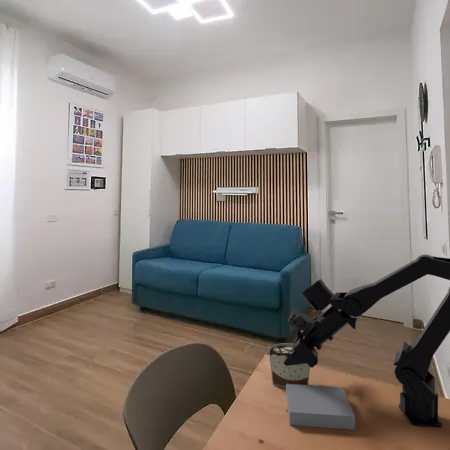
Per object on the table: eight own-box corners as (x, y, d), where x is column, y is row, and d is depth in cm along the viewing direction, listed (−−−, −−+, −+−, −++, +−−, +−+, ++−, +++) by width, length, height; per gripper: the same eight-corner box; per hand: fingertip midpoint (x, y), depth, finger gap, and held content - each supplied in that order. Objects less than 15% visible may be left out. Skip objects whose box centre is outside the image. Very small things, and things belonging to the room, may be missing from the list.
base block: (341, 398, 76) (341, 387, 75) (355, 429, 65) (355, 416, 65) (286, 395, 77) (286, 383, 77) (289, 424, 66) (289, 412, 66)
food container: (315, 381, 83) (315, 346, 83) (313, 393, 78) (313, 356, 77) (272, 372, 88) (272, 339, 88) (267, 383, 83) (267, 348, 82)
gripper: (308, 292, 90) (272, 324, 94) (303, 312, 72) (259, 350, 76) (335, 321, 87) (297, 352, 91) (337, 348, 70) (290, 386, 74)
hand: (286, 358), depth 83 cm, fingers closed on food container, 6 cm apart
